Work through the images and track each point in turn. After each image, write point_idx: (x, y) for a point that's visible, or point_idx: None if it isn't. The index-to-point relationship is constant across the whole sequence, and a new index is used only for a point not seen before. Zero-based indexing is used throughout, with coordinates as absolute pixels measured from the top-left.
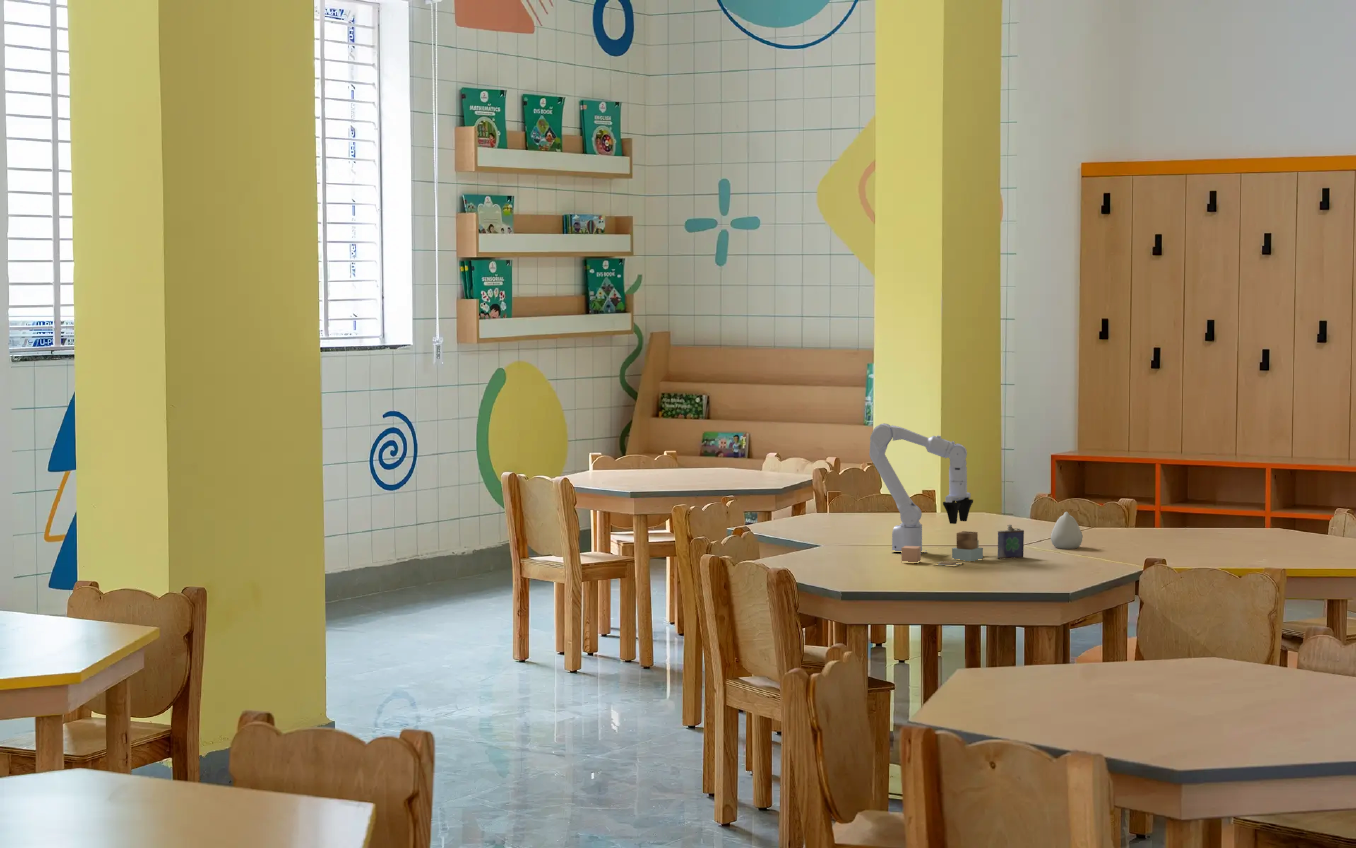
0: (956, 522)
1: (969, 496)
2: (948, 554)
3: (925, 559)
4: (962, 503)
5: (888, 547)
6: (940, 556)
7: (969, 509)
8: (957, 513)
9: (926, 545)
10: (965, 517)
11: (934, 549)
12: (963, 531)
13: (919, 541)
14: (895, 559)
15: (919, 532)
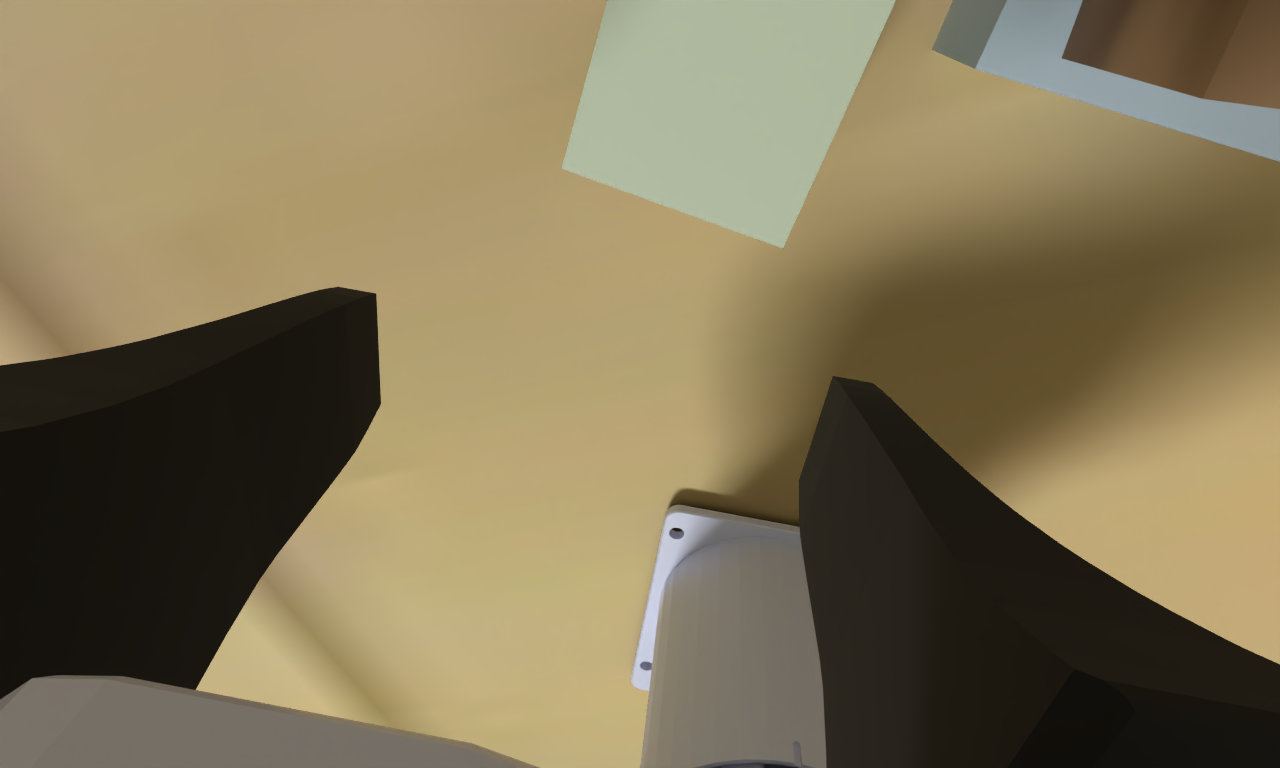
0: (850, 384)
1: (211, 753)
2: (726, 294)
3: (1180, 413)
4: (95, 664)
5: (533, 760)
6: (908, 332)
7: (91, 354)
8: (932, 489)
9: (276, 582)
10: (331, 338)
11: (454, 486)
12: (1260, 72)
13: (810, 625)
14: (1210, 629)
15: (822, 711)
